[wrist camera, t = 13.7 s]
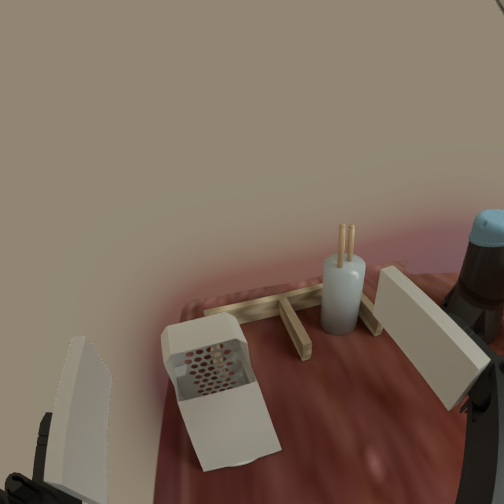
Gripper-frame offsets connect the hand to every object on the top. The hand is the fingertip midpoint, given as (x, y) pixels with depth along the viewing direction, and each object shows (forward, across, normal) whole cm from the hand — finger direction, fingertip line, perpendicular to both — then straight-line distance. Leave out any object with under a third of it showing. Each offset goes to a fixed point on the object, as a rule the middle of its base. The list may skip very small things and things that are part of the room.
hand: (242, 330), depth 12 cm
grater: (+10, -3, -29) cm, 31 cm away
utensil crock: (+26, +20, -30) cm, 44 cm away
